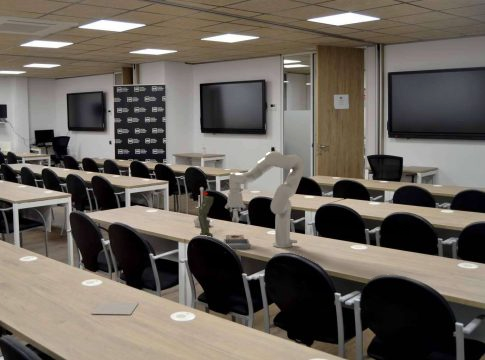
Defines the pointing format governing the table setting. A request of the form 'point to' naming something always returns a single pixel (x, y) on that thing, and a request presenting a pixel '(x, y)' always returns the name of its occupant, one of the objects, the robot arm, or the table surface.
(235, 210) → the pin
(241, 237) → the pin block
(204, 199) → the mechanical leg
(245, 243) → the tray
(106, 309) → the grey flat slab
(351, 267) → the table surface
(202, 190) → the flag stand
